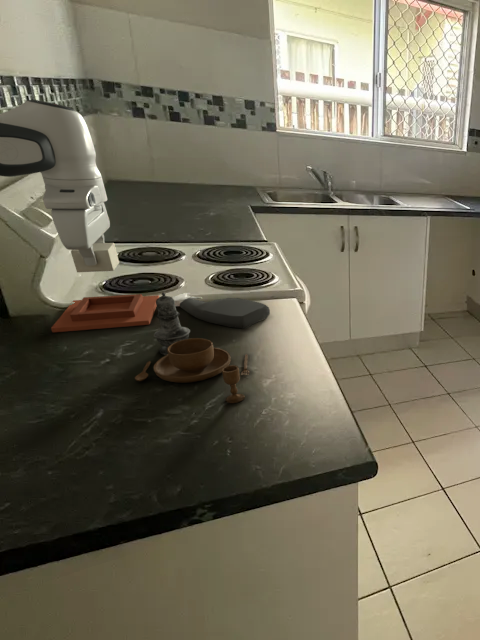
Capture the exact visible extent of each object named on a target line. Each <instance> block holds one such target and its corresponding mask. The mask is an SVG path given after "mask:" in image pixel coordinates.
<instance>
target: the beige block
mask: <svg viewBox="0 0 480 640" xmlns="http://www.w3.org/2000/svg"><path fill="white" fill-rule="evenodd" d="M93 251H94V254H95V255H96V257H97V261H98V262H97V264H96V265H91V266H88V265H86V264H85V262H84V259H83V257H82V255H81V254H80V252H79V251H78V250H70V255H71V258H72V261H73V264H74V267H75V271H76V273H92V272H93V273H97V272H98V273H99V272H114V271H115V269H116V268H118V267H117V266H118V265H119V264H120V260H119V256H118V253H117V248H116V245H115V243H114V242H104V243H94V244H93Z"/></svg>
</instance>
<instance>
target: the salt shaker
mask: <svg viewBox="0 0 480 640" xmlns="http://www.w3.org/2000/svg"><path fill="white" fill-rule="evenodd" d="M160 294H161V296H159V298H157V300H156V305H157V307H156V309H157V314H156V318H158V319H159V323H160V329H159V330H157V331H155V332H154V333H153V337H154V339H156V341H157V342H158V343H159V345H161V347H160V348H159V354H161V355H164V356H166V355H168V352H167V348H168V347H169V346H170V345H171V344H173V343H175V342H178V341H181V340H185V339H189V336H190V333H191V329H189V328H188V327H186V326H182V325H181V322H180V319H179V316H180V312H179V311H178V310H177V308H176V307H177V306H175V302H174V299H173V298H172V297H173V296H169V295H166V293H165V292H164V291H162V293H160Z"/></svg>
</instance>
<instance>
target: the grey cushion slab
mask: <svg viewBox="0 0 480 640" xmlns="http://www.w3.org/2000/svg"><path fill="white" fill-rule="evenodd" d="M171 297H172V298H173V299H174V302H175V306H176V307H180V309H182V310H184V311H185V312H187V313H188V314H190V315H191V316H193V317H194V318H196V319H198V320H202V321H204V322H206V323H209V324H210V323H211V324H215V325H218V326H224V327H228V328H234V329H246V328H248V327H251V326H252V325H255V324H257V323H259V322H261V321H264V320H265V319H267V318H268V317H269V316H270V312H271V310H270V307H269V306H268V305H266V304H264V303H262V302H258V301H254V300H250V299H244V298H239V297H225V298H220V299H214V300H209V301H204V300H202V299H203V296H193V295H192V293H191V292H189V291H188V292H187V291H186V292H184V293H180V294H177V295H174V296H171Z"/></svg>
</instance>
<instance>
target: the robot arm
mask: <svg viewBox="0 0 480 640" xmlns="http://www.w3.org/2000/svg"><path fill="white" fill-rule="evenodd" d="M96 158H97V153H96V149H95V146H94V142H93V138H92V136H91V133H90V130H89V126H88V125H87V123H86V120H85V118H84V117H83V116H82V114H81V113H79V112H78V111H77V110H76V109H74V108H72V107H69V106H66V105H62V104H58V103H54V102H49V101H44V100H38V99H27V100H25V101H24V102H23V103H21V104H20V105H18V106H16V107H14V108H12V109H9V110H6V111H3V112H0V177H4V178H16V177H22V176H25V175H26V176H27V175H32V174H37V173H40V174H41V177H42V180H43V183H44V190H45V191H44V194H43V197H42V203H43V204H44V207H45V208H46V209H47V210H50V214H51V219H52V221H53V224H54V227H55V230H56V232H57V235H58V237H59V240H60V242H61V244H62V245H63V246H64V248H65V249H66V250H70V251H71V250H78V251H79V252H80V254H81V255H82V257H83V259H84V262H85V264H86V265H88V266H91V265H96V264H97V262H98V261H97V257H96V255H95V254H94V251H93V244H94V243H105V233H106V232H107V231H108V230H109V229H110V227H111V222H110V217H109V214H108V211H107V207H106V204H105V202H107V201H108V196H107V192H106V188H105V184H104V180H103V176H102V174H101V172H100V170H99V168H98V166H97V161H96V160H97V159H96Z"/></svg>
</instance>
